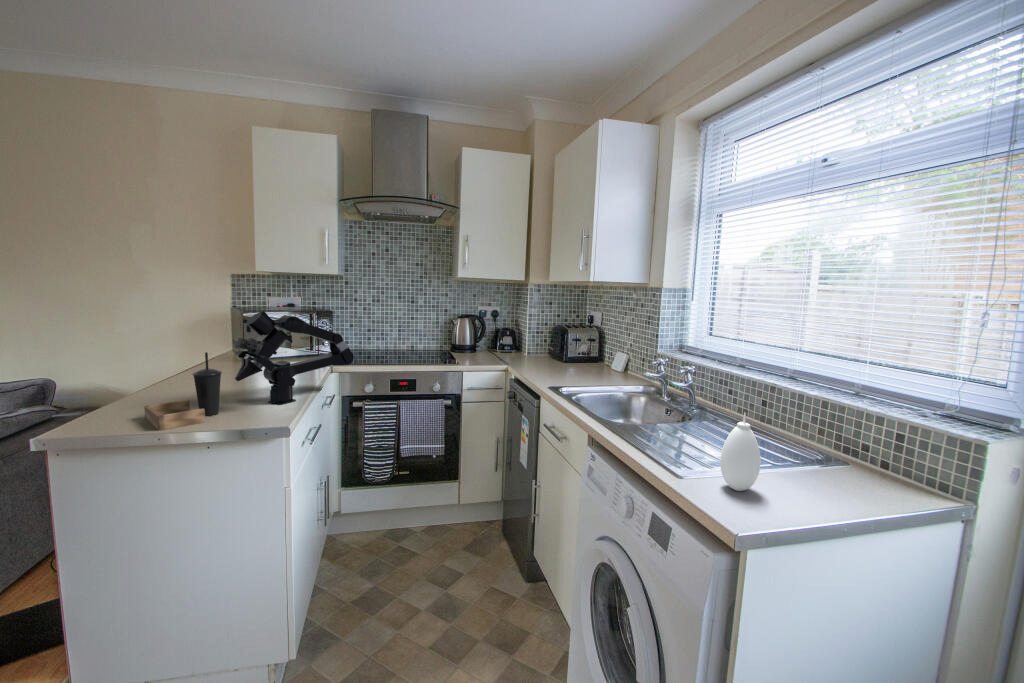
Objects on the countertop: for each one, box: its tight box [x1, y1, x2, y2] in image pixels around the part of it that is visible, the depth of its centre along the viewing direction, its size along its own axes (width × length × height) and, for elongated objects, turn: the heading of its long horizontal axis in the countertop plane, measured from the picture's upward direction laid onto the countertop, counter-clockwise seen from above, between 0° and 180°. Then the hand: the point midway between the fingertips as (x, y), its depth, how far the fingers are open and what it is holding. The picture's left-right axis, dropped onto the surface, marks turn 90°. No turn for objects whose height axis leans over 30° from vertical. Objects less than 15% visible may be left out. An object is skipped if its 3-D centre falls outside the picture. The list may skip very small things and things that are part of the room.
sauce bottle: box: [719, 412, 762, 492], centre depth 100 cm, size 8×8×18 cm
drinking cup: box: [192, 352, 223, 417], centre depth 141 cm, size 8×8×20 cm
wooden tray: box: [143, 399, 206, 431], centre depth 135 cm, size 11×15×4 cm
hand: (236, 380), depth 148 cm, fingers closed
